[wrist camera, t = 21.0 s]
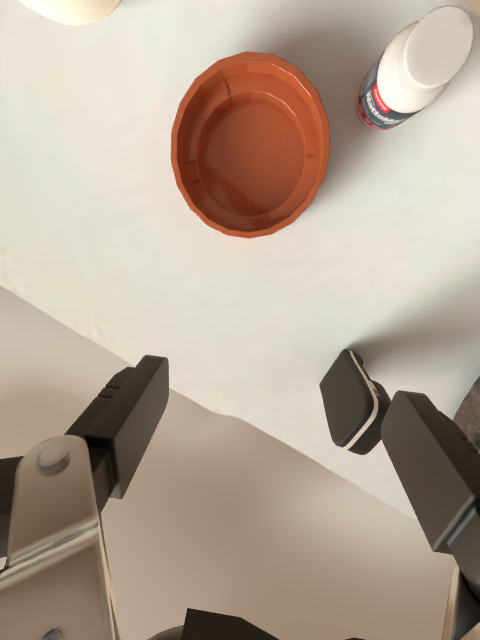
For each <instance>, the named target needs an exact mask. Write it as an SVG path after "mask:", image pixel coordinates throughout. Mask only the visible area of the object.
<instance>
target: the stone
mask: <svg viewBox="0 0 480 640" xmlns="http://www.w3.org/2000/svg"><path fill="white" fill-rule="evenodd" d="M453 422H454V423H456V424H457V425H458V426H459V428H460V429H461V430H462V431H463V433H464V434H465V435H466V436H467V438H468V441H469V442H472V444H473V445H474V446H475V447H476V449H477V450H478V453H479V454H480V376H479V378H478V379H477V380H476V381H475V383H474V385H473V386H472V388H471V390H470V391H469V393H468V394H467V395H466V397H465V399H464V400H463V402H462V404H461V406H460V407H459V409H458V411H457V413H456V415H455V417H454V420H453Z"/></svg>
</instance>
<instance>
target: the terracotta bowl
mask: <svg viewBox="0 0 480 640" xmlns="http://www.w3.org/2000/svg"><path fill="white" fill-rule="evenodd" d="M329 154H330V138H329V122H328V118H327V115H326V112H325V110H324V107H323V104H322V102H321V99H320V96H319V94H318V92H317V90H316V89H315V88H314V86H313V85H312V84H311V83H310V82H309V80H308V79H307V78H306V77H305V75H304V74H303V73H302V72H301V71H300V69H298V68H297V67H295V66H294V65H292V64H290V63H288V62H286V61H285V60H283V59H281V58H279V57H277V56H276V55H273V54H265V53H255V52H243V53H240V54H237V55H234V56H231V57H227V58H224V59H221V60H219V61H217V62H216V63H214V64H213V65H212V66H211V67H209V68H208V69H207V70H206V71H204V72H203V73H202V74H201V75H199V76H198V77H197V78H196V79H195V80H194V82H193V83H192V85H191V87H190V88H189V90H188V91H187V93H186V94H185V96H184V97H183V99H182V100H181V102H180V104H179V108H178V111H177V114H176V118H175V121H174V124H173V128H172V132H171V163H172V167H173V171H174V175H175V179H176V183H177V186H178V188H179V190H180V192H181V194H182V196H183V197H184V199H185V201H186V203H187V204H188V206H189V208H190V209H191V210H192V211H193V212H194V213H195V214H196V215H197V216H198V217H199V218H200V219H201V220H202V221H203V222H204V223H205V224H206V225H208V226H210V227H212V228H214V229H216V230H218V231H220V232H222V233H223V234H225V235H228V236H235V237H242V238H255V237H260V236H265V235H271V234H273V233H275V232H277V231H279V230H281V229H282V228H284V227H286V226H288V225H290V224H291V223H293V222H294V221H295V220H296V219H297V218H298V217H299V216H300V215H301V214H302V213H303V212H304V211H305V210H306V209H307V208H308V207H309V206H310V204H311V203H312V201H313V199H314V197H315V195H316V194H317V192H318V190H319V188H320V186H321V184H322V182H323V180H324V177H325V172H326V168H327V163H328V159H329Z"/></svg>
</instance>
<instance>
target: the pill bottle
mask: <svg viewBox="0 0 480 640" xmlns="http://www.w3.org/2000/svg"><path fill="white" fill-rule="evenodd" d="M473 39H474V29H473V23H472V21H471V18H470V16H469V15H468V13H467V12H466V11H465V10H463V9H462V8H460V7H457V6H452V5H447V6H442V7H439V8H436V9H434V10H432V11H431V12H429V13H428V14H427V15H425V16H424V17H423V18H422V19H421V20H419V21H416V22H414V23H412V24H410V25H409V26H407V27H405V28H404V29H403V30H402V31H400V32H399V33H398V34H397V35H396V36H395V37H394V39H393V40H392V41H391V42H390V44H389V45H388V46H387V48H386V49H385V50H384V52H383V53H382V55H381V56H380V57H379V59H378V60H377V62H376V63H375V64H374V66H373V67H372V68H371V70H370V71H369V73H368V74H367V75H366V77H365V78H364V80H363V82H362V84H361V86H360V89H359V92H358V97H357V109H358V113H359V116H360V118H361V120H362V121H363V123H364V124H365V125H366V126H368V127H369V128H372V129H374V130H387V129H391V128H393V127H395V126H397V125H399V124H400V123H402V122H403V121H405V120H406V119H408V118H410V117H411V116H413V115H414V114H416V113H417V112H419V111H421V110H422V109H424V108H425V107H427V106H428V105H429V104H431V103H432V102H433V101H435V100H436V99H437V98H438V97H439V96H440V95H441V93H442V92H443V91H444V90H445V88H446V87H447V85H448V84H449V82H450V80H451V78H453V77H454V76H455V75H456V74H457V73H458V72H459V71H460V69H461V68H462V67H463V65H464V64H465V62H466V60H467V58H468V56H469V54H470V52H471V49H472V45H473Z"/></svg>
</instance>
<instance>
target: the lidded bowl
mask: <svg viewBox="0 0 480 640" xmlns="http://www.w3.org/2000/svg"><path fill="white" fill-rule="evenodd" d="M18 1H19V2H20V3H22V4H23V5H25V6H26V7H28V8H30V9H32V10H33V11H35V12H37V13H39V14H41V15H43V16H45V17H47V18H49V19H51V20H54V21H56V22H60V23H63V24H67V25H77V26H84V25H91V24H93V23H96V22H98V21H101V20H103V19H104V18H106V17H107V16H109V15H110V14H111V13H112V12H113V11H114V10H115V8H116V7H117V5H118V4H119V3H120V1H121V0H18Z"/></svg>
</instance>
